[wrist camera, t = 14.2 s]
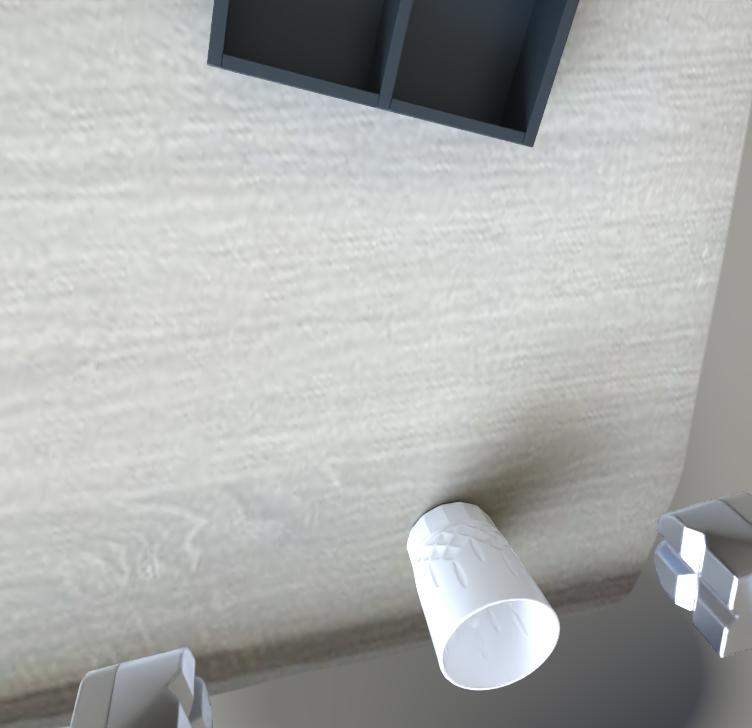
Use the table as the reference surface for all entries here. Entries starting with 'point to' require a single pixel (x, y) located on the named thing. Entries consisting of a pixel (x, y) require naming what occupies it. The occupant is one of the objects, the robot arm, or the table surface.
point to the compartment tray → (406, 55)
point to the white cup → (478, 599)
